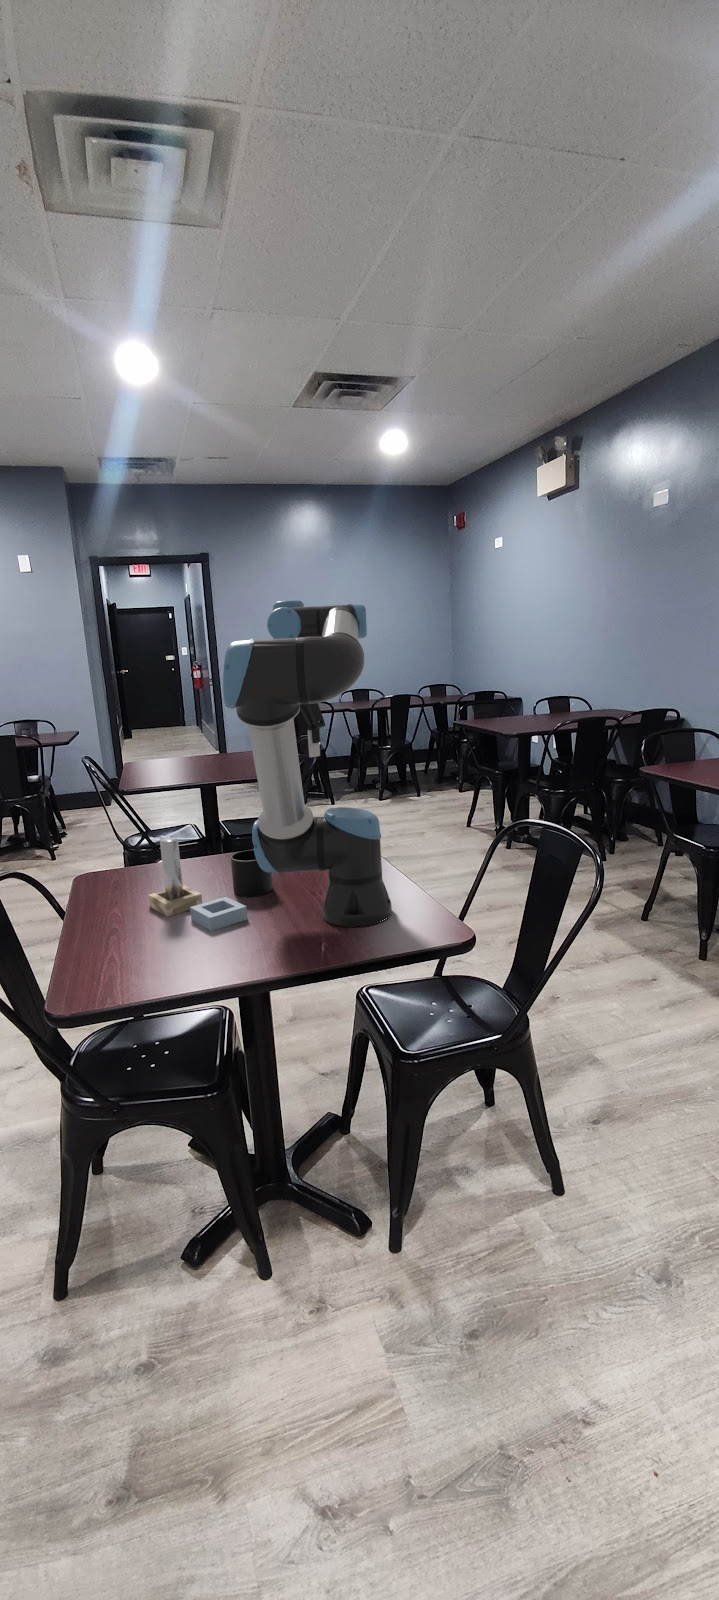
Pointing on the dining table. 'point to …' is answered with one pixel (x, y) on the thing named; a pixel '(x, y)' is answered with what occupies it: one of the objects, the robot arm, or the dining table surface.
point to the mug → (249, 875)
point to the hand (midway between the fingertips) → (298, 754)
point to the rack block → (175, 901)
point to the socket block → (218, 913)
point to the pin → (171, 868)
